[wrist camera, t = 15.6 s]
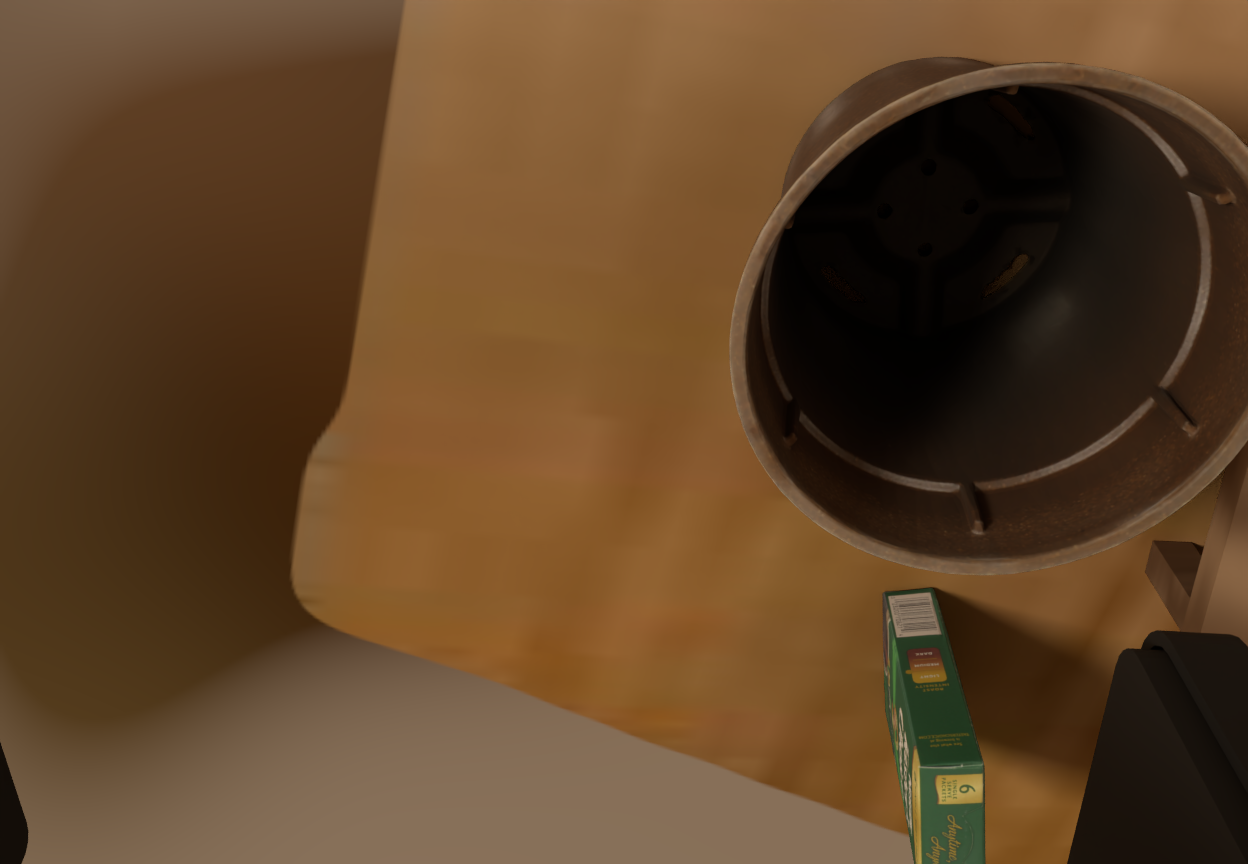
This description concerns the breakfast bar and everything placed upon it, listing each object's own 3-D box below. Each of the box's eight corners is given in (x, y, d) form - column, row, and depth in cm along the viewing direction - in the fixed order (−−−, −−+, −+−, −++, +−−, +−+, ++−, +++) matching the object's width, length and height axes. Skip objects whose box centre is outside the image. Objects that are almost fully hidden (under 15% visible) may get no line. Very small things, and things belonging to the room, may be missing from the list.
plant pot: (955, 443, 51) (1041, 658, 37) (661, 268, 49) (631, 425, 35) (1207, 143, 45) (1432, 264, 30) (879, -78, 42) (955, -61, 28)
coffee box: (877, 583, 55) (916, 770, 44) (936, 580, 55) (991, 767, 43) (881, 709, 59) (918, 913, 47) (936, 707, 58) (987, 912, 47)
